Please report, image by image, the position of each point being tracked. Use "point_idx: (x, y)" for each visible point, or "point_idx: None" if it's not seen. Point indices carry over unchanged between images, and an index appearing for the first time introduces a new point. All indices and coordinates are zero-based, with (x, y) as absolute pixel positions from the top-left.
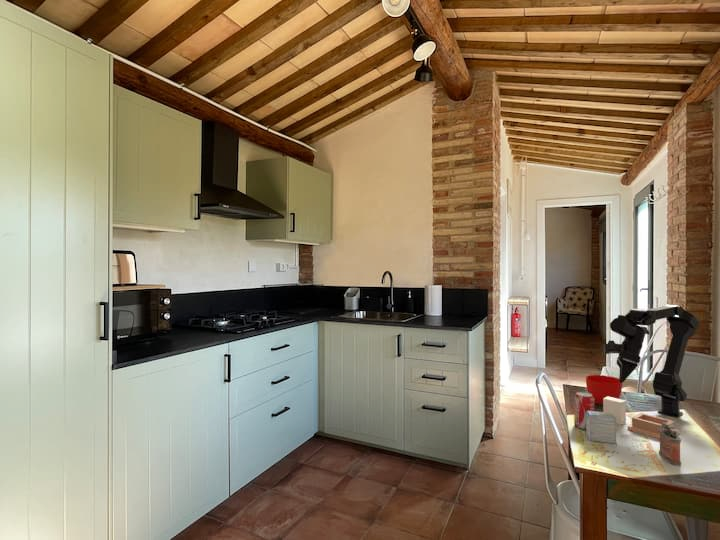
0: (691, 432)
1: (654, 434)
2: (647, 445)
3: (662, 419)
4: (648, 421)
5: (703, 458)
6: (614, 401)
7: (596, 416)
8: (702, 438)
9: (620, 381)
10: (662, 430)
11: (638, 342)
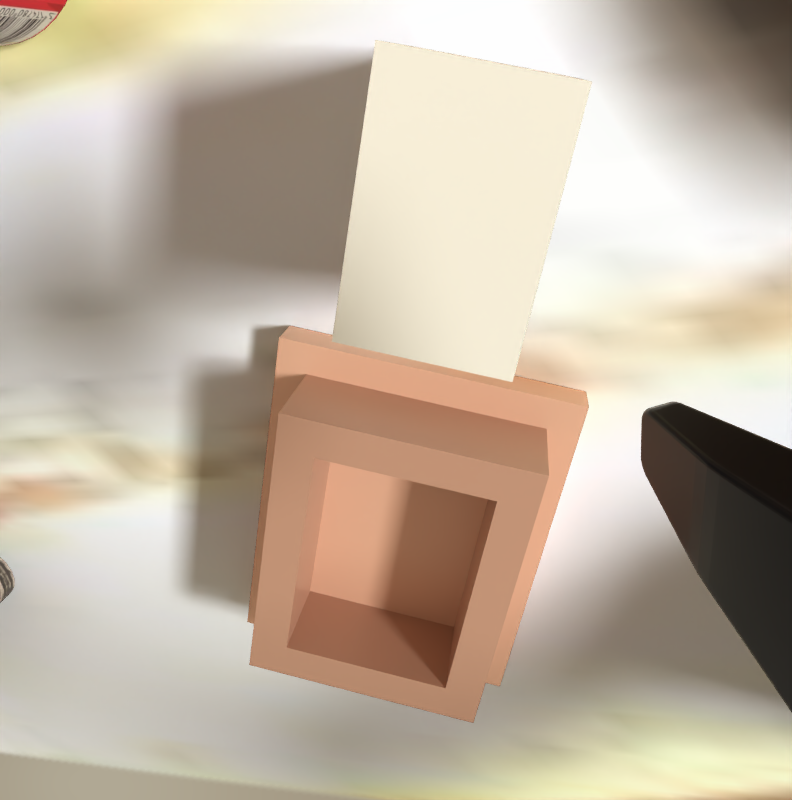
0: (599, 731)
1: (258, 534)
2: (51, 483)
3: (457, 646)
4: (284, 548)
5: (123, 735)
6: (349, 240)
7: None
8: (504, 772)
9: (656, 440)
10: None
11: None
